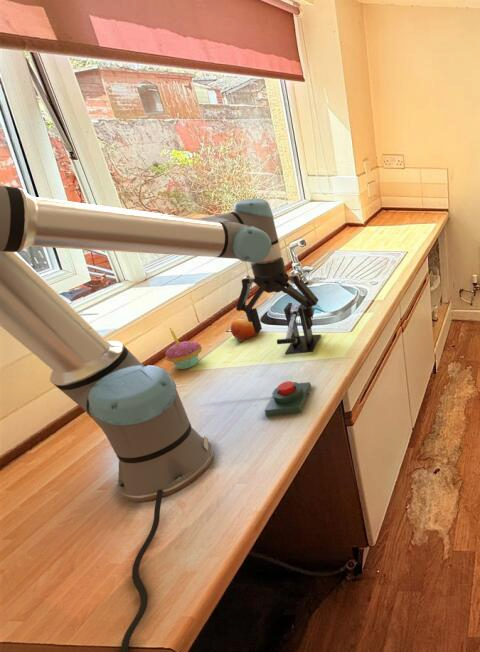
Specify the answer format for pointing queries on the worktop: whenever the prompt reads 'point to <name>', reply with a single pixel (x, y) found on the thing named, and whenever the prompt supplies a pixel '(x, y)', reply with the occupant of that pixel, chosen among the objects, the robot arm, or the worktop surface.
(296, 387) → the button box
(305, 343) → the bracket
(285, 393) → the button
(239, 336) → the fruit
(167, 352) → the cupcake
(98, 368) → the robot arm
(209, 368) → the worktop surface
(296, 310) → the lever
